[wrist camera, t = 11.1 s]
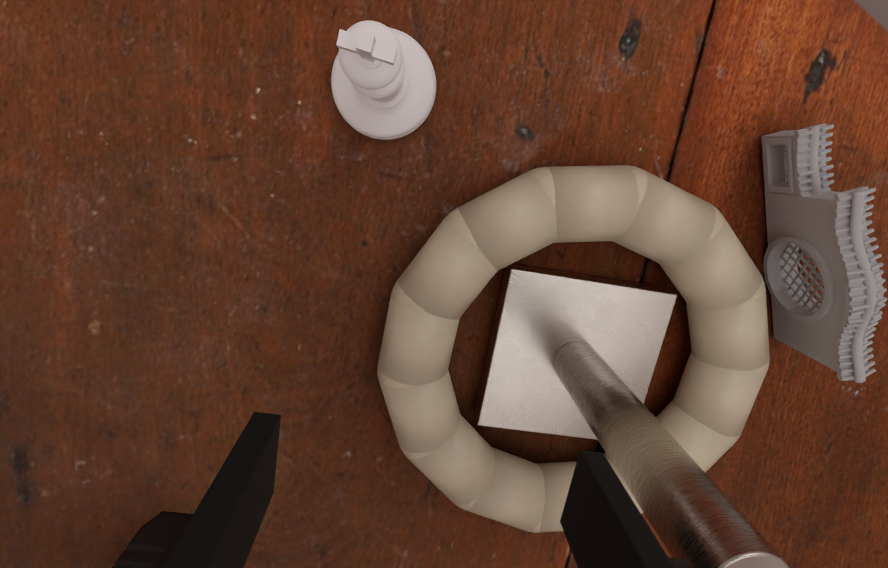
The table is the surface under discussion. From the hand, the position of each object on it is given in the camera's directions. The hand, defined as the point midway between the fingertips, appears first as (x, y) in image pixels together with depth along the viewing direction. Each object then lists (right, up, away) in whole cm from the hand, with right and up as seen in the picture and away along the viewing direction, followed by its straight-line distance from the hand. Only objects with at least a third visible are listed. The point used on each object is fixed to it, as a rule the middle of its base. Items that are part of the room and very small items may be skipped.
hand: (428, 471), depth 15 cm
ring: (+7, +2, +11) cm, 13 cm away
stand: (+7, +2, +12) cm, 15 cm away
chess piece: (-2, +15, +8) cm, 18 cm away
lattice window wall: (+19, +8, +12) cm, 23 cm away
